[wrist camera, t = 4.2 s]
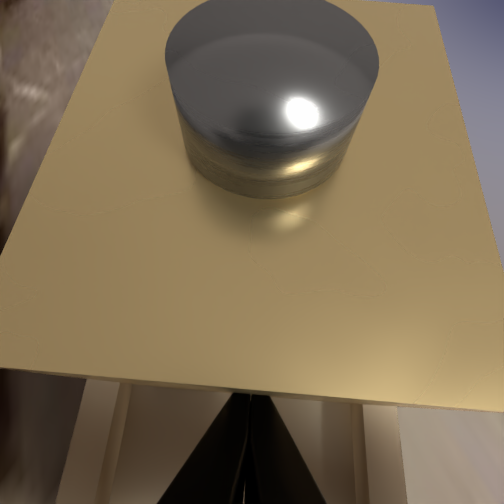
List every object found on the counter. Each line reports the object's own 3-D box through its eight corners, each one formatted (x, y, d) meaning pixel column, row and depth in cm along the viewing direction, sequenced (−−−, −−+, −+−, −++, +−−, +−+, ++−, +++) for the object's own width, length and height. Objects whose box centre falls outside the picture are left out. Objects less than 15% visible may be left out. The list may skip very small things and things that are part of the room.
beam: (403, 713, 9) (475, 859, 6) (38, 687, 9) (-55, 818, 6) (349, 106, 18) (367, 54, 15) (174, 95, 18) (162, 42, 16)
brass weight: (334, 402, 10) (695, 423, 2) (153, 386, 11) (-192, 345, 2) (330, 218, 13) (474, -80, 5) (187, 206, 13) (96, -106, 5)
